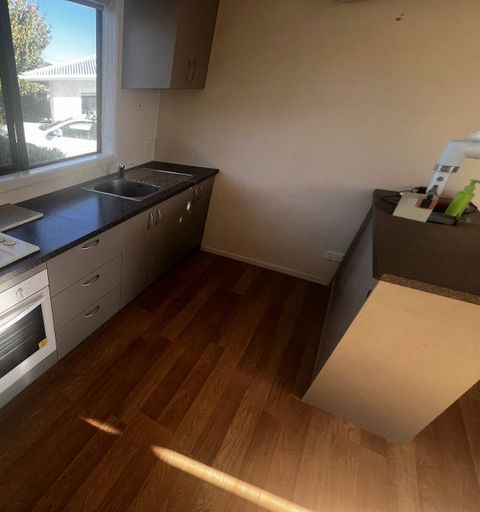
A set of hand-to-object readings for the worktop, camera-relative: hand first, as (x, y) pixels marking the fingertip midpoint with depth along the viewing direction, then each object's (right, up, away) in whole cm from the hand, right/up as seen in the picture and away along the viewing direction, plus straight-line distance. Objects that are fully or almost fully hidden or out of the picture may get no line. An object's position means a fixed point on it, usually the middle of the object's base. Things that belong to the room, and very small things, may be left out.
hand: (424, 205), depth 142 cm
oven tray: (+20, -6, +9) cm, 23 cm away
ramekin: (0, -1, 0) cm, 1 cm away
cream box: (+12, -3, +17) cm, 21 cm away
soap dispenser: (+33, -3, +16) cm, 37 cm away
